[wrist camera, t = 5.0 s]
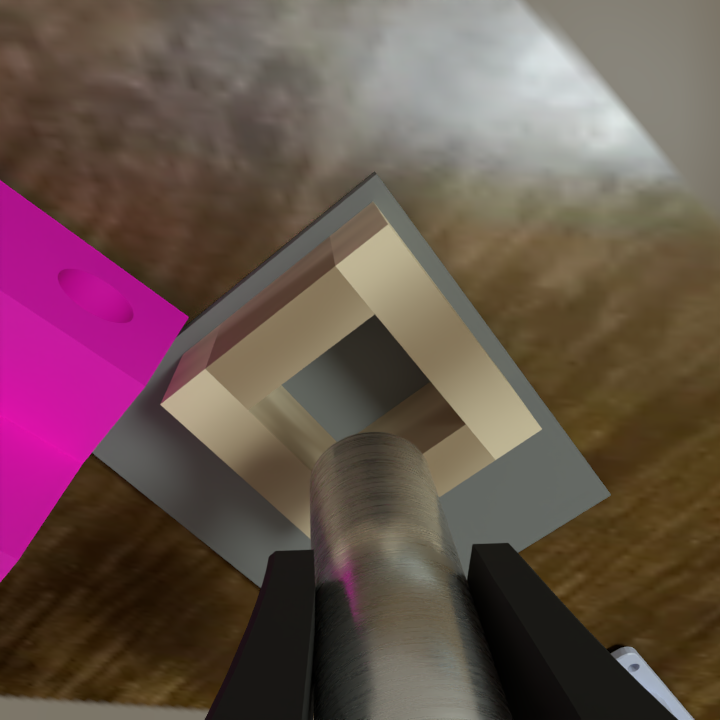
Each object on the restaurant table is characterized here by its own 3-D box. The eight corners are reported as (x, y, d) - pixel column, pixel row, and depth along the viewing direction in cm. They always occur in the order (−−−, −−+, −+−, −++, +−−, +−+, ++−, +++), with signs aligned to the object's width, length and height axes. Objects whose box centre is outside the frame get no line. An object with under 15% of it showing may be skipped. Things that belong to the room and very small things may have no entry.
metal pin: (453, 488, 13) (655, 1024, 5) (358, 548, 13) (427, 1113, 6) (384, 409, 12) (519, 941, 4) (284, 478, 12) (258, 1057, 5)
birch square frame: (506, 379, 18) (542, 428, 15) (333, 498, 19) (338, 564, 17) (373, 201, 15) (388, 224, 13) (182, 354, 17) (160, 404, 14)
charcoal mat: (604, 486, 21) (611, 494, 20) (346, 646, 23) (347, 657, 23) (374, 171, 16) (376, 173, 15) (69, 420, 18) (63, 429, 17)
